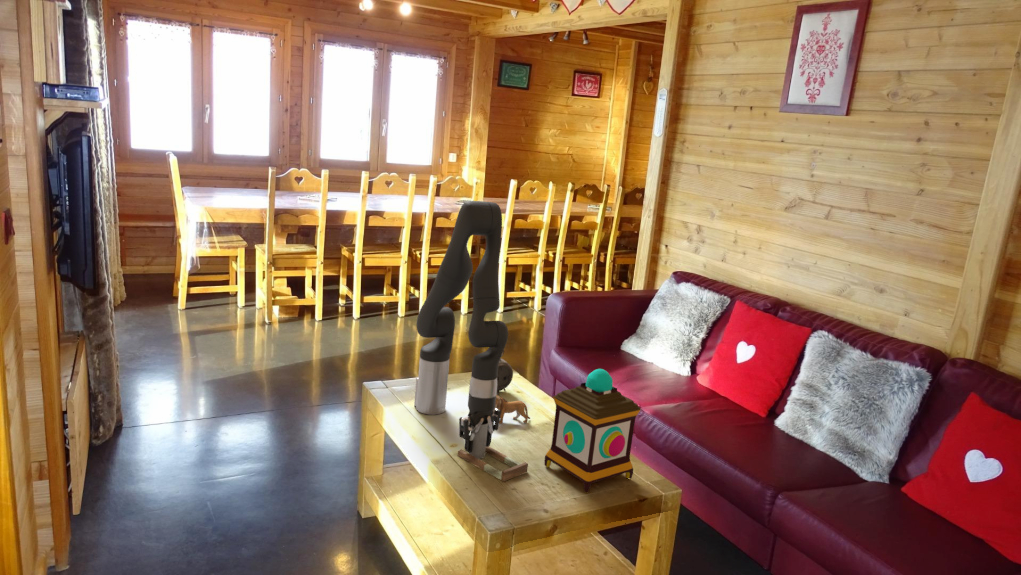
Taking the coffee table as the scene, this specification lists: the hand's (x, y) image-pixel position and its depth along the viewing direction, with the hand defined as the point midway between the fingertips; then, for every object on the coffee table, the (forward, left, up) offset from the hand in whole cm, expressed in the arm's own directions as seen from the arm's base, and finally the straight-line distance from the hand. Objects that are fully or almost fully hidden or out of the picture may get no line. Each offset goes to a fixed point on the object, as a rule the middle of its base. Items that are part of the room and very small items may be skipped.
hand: (477, 448), depth 204 cm
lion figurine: (-12, +24, -2) cm, 27 cm away
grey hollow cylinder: (0, 0, -2) cm, 2 cm away
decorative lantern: (+25, +18, -2) cm, 31 cm away
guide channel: (+6, 0, -2) cm, 6 cm away
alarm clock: (-31, +38, -2) cm, 49 cm away
